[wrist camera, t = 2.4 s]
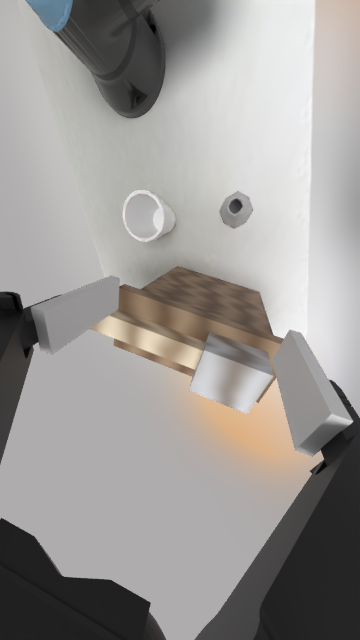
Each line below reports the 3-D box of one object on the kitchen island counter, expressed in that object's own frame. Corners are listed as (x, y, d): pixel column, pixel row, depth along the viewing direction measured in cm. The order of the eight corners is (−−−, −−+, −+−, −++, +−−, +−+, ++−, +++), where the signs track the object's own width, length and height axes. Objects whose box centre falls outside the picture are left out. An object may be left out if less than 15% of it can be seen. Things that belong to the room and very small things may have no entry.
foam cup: (148, 236, 52) (123, 238, 41) (148, 198, 48) (120, 188, 37) (179, 240, 50) (163, 243, 39) (183, 200, 46) (165, 191, 35)
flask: (233, 234, 46) (232, 235, 38) (214, 211, 45) (208, 207, 37) (258, 209, 43) (264, 204, 34) (238, 184, 42) (238, 173, 33)
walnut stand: (164, 298, 59) (113, 345, 35) (172, 260, 53) (117, 287, 29) (249, 327, 56) (258, 402, 32) (268, 291, 50) (296, 349, 26)
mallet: (77, 322, 35) (54, 335, 31) (75, 283, 31) (49, 292, 27) (245, 388, 31) (247, 414, 27) (267, 352, 27) (273, 376, 23)
